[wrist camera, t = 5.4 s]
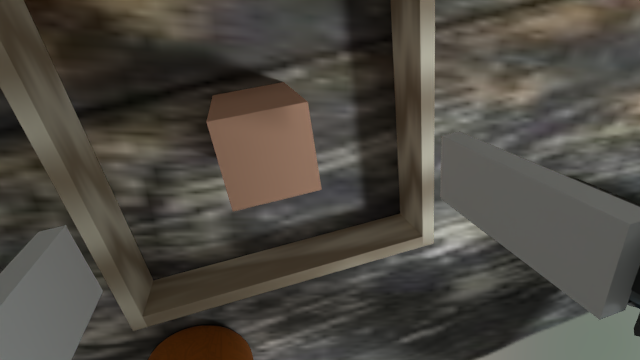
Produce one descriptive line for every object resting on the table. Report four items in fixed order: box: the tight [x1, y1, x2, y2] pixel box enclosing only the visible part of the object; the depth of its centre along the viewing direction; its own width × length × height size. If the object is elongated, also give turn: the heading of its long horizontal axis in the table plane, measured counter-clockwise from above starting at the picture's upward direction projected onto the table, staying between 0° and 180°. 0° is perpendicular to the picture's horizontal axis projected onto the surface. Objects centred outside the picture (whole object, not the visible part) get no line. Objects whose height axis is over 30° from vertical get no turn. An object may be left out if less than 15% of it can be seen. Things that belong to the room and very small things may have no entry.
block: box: [207, 82, 322, 211], centre depth 21 cm, size 5×5×8 cm
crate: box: [0, 0, 435, 331], centre depth 23 cm, size 24×24×4 cm
